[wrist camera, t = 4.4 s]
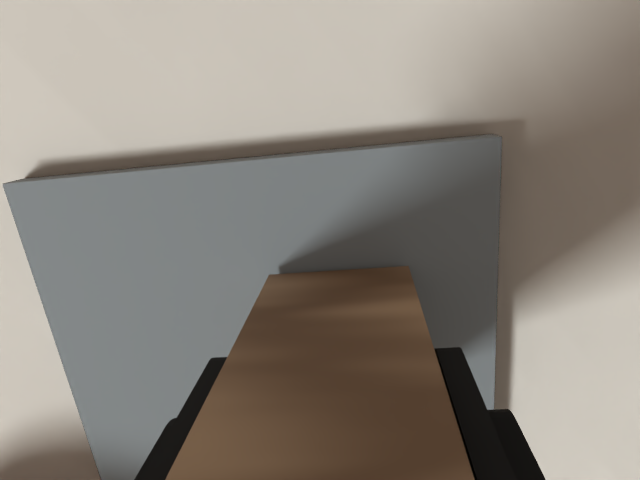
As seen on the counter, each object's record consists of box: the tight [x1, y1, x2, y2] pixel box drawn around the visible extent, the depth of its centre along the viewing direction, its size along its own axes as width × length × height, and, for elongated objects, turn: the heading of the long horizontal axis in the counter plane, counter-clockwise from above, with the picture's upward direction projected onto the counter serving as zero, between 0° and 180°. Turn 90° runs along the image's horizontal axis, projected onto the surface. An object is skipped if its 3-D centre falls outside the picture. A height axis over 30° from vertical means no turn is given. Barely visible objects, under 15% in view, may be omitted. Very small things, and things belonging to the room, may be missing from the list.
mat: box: [3, 134, 502, 480], centre depth 14 cm, size 14×12×1 cm
